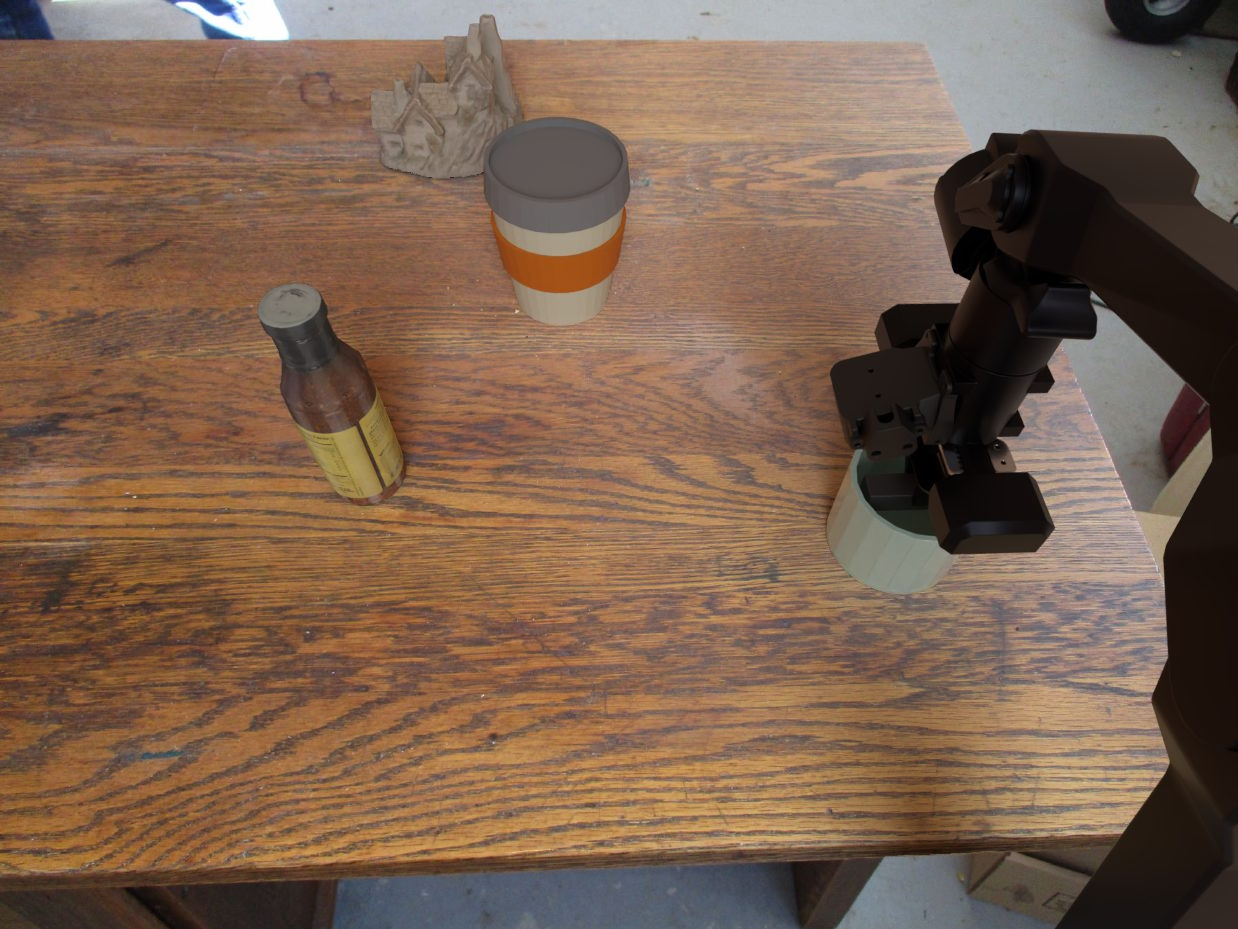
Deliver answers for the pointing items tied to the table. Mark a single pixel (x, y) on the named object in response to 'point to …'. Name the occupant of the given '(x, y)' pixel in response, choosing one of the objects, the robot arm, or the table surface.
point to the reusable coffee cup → (558, 213)
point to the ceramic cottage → (448, 108)
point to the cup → (884, 536)
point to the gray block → (890, 491)
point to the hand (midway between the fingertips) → (915, 491)
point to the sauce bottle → (332, 397)
